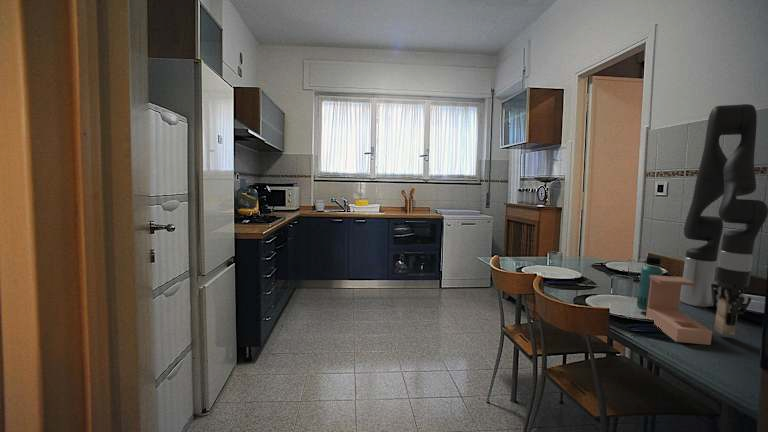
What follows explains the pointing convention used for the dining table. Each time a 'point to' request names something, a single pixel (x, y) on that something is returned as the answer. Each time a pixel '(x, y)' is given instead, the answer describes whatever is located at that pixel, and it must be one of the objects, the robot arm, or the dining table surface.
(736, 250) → the robot arm
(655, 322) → the socket stand
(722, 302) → the peg
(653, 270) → the beverage bottle
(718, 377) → the dining table surface
